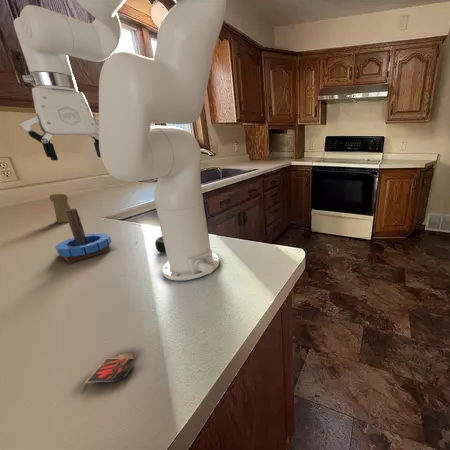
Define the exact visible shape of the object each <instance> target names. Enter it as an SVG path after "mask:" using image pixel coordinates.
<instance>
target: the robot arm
mask: <svg viewBox="0 0 450 450" xmlns="http://www.w3.org/2000/svg"><path fill="white" fill-rule="evenodd" d="M75 1H76V2H77V3H78V5H80V6H81V7H82V8H83V9H84V10H85V11H86V12H87V13H88V14H90V15H91V16H93V18H94V20H93V21H91V22H90V23H89V22H86V21H83V20H80V19H78V18H76V17H75V18H74V17H72V16H68V15H66V14H63V13H59V12H57V11H54V10H51V9H48V8H45V7H42V6H39V5H35V4H28V5H25V6H24V7H23V8H22V10H21V11H20V12H19V16H18V17H16V18H15V19H13V27H14V30H15V34H16V37H17V39H18V43H19V45H20V48H21V51H22V53H23V57H24V60H25V63H26V66H27V68H28V71H29V74H27V75H24V74H22V80H23V82H24V83H29V84H31V85H33V87H32V88H31V94H32V101H33V106H34V110H35V114H36V115H35V116H32V117H30V118H27V119H25V120H23V121H20V122H18V124H17V125H18V127H19V128H20V129H21V130H22V131H23V132H24V133H26V134H27V135H28V137H30V138H32V139H34V140H35V141H37V142H39V144H42V147H43V151H44V154H45V155H46V157H47V158H50V160H51V161H59V158H58V156H57V152H56V149H55V146H54V144H53V143H52V142H51V139H52V138H53V136H88V137H90V138H91V139H92V140H94V142H93V145H94V149H95V152H96V156H97V157H98V158H100V159H101V162H102V165H103V166H104V168H105V170H106V171H107V173H109V174H110V176H112V177H113V178H115V179H117V180H120V181H123V182H141V181H147V180H154V179H157V182H156V184H155V188H154V195H153V198H154V205H155V210H156V214H157V218H158V219H157V220H158V223H159V227H160V232H161V236H162V237H163V241H164V245H165V250H166V253H165V254H166V259H167V262H166V263H165V264H164V265H163V267H162V268H161V271H162V275H163V277H164V278H165V279H168V280H172V281H189V280H190V281H191V280H195V279H199V278H201V277H204V276H206V275H209V274H211V273H212V272H214V271H215V270H216V269H217V268H218V267H219V265H220V257H219V255H217V254H216V253H214V252H213V250H212V249H211V243H210V242H211V241H210V237H209V230H208V224H207V218H206V212H205V204H204V197H203V190H202V180H201V178H202V177H201V173H202V172H201V171H202V170H201V167H202V152H201V146H200V143H199V142H198V140H197V138H196V137H195V135H194V134H192V133H191V132H189V130H186V129H184V128H180V127H178V126H177V127H176V126H171V125H188V124H193V123H195V122H197V121H198V120H199V119H200V117H201V115H202V112H203V108H204V104H205V99H206V95H207V94H206V93H207V89H208V83H209V79H210V74H211V70H212V65H213V64H212V63H213V57H214V53H215V50H216V46H217V43H218V39H219V36H220V34H221V30H222V28H223V25H224V20H225V16H226V10H227V0H173V1H174V3H175V5H173V6H172V7H171V8H170V9H169V10H168V11H167V12H166V13H165V15H164V17H163V18H162V20H161V21H160V23H159V26H158V30H157V34H156V35H157V36H156V46H155V52H154V56H153V57H152V58H151V57H147V56H143V55H140V54H137V53H132V52H125V51H123V52H121V51H120V52H116V51H117V50H118V48H119V47H120V44H121V39H122V26H121V21H120V18H119V15H118V11H119V10H120V8H122V6H123V5H124V3H125V2H126V1H127V0H75ZM69 57H72V58H78V59H81V60H85V61H90V62H95V63H97V62H98V63H99V62H104V63H103V64H102V67H101V69H100V73H99V81H98V119H97V118H94V114H93V112H92V110H91V107H90V105H89V103H88V100H87V98H86V96H85V94H84V93H83V92H82V91H79V90H78V87H77V83H76V80H75V77H74V74H73V70H72V67H71V64H70V60H69ZM37 123H38V125H39V127H40V130H41V131H42V134H39V133H37V132H36V131H34V130H33V128H32V127H31V126H34V125H35V124H37ZM152 124H168V126H167V125H152ZM169 124H170V126H169ZM97 126H98V127H97Z"/></svg>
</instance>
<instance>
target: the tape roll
mask: <svg viewBox="0 0 450 450" xmlns="http://www.w3.org/2000/svg"><path fill="white" fill-rule="evenodd" d="M85 235H86V238H87V241H88V243H89V244H85V245H80V246H77V245H76V242H75V239H74V237H72V238H68V239H66V240H63V241H61V242H59V243H57V245H55V250H56V252H57V254H58V255H59V256H60V257H62V256H68V257H71V256H78V255H84V254H88V253H92V252H95V251H98V250H101V249H103V248H105V247H107V246H110V245H111V243H112V239H111V236H110V234H107V233H104V232H103V233H101V232H100V233H98V232H97V233H89V234H85ZM91 242H93V243H91Z"/></svg>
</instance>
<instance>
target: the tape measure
mask: <svg viewBox="0 0 450 450" xmlns="http://www.w3.org/2000/svg"><path fill="white" fill-rule="evenodd" d="M154 244H155V245H154V246H155V249H156V250H157V252H158V253H160V254H166V250H165V245H164V241H163V237H162V235H161V236H159V237H158V238H156V240H155V242H154Z"/></svg>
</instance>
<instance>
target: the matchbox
mask: <svg viewBox="0 0 450 450" xmlns="http://www.w3.org/2000/svg"><path fill="white" fill-rule="evenodd" d="M133 356H134V353H133V352H132V353H130V352H125V353H122V354H117V355H116V356H115V357H106V358H105V359H104V360H103V361H102V362H101V363H100V364H99V365H98V367H97V368H96V369H95V370H92V371H91V372H92V374H91V375H90V376H89V377H88V378H86V379H85V382H84V384H83V387H85V386H86V385H87V384H92V383H93V384H95V383H96V384H97V383H102V384H103V385H104V384H106V383H112V382H117V381H121V380H124V379H125V378H126V376H127V375H128V374H129V373H130V372H131V371H133V370H131V369H132V367H133V366H134V363H135V360H136V357H133Z"/></svg>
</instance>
